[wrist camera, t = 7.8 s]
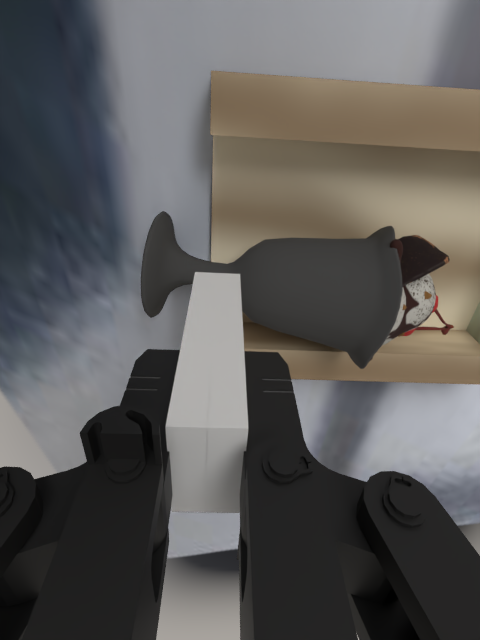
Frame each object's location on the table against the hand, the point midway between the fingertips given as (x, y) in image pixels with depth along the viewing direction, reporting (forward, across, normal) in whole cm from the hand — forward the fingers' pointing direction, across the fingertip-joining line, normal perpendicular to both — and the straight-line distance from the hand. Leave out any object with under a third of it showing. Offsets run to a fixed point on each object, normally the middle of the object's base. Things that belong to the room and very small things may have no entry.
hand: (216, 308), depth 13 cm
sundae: (+5, -3, -1) cm, 6 cm away
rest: (+7, +8, 0) cm, 11 cm away
